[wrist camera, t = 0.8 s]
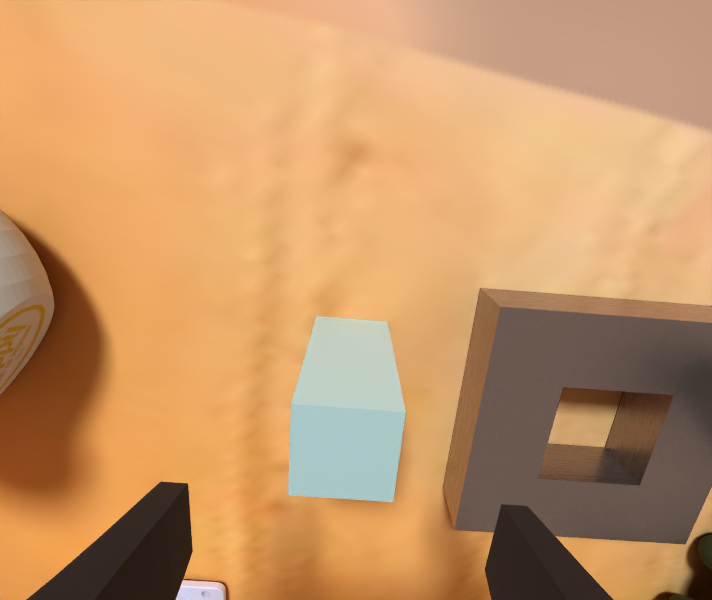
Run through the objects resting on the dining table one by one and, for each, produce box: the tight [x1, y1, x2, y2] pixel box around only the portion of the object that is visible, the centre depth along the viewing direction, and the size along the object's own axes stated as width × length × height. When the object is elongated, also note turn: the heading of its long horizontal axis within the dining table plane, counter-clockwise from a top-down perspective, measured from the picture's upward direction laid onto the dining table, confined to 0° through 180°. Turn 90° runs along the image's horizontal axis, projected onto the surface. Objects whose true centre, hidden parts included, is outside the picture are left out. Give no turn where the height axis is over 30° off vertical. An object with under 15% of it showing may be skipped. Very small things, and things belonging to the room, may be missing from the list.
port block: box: [443, 288, 712, 544], centre depth 17 cm, size 11×11×2 cm
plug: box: [288, 316, 406, 502], centre depth 15 cm, size 3×3×7 cm
